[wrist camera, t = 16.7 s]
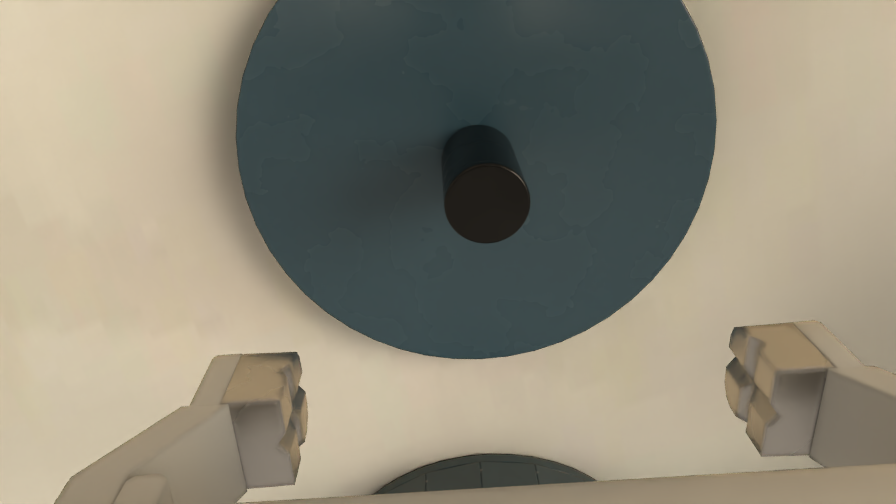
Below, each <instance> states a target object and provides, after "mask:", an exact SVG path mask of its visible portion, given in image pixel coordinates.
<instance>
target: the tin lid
mask: <svg viewBox="0 0 896 504" xmlns="http://www.w3.org/2000/svg"><path fill="white" fill-rule="evenodd" d="M715 134H716V106H715V91H714V85H713V80H712V75H711V70H710V66H709V61H708V57H707V54H706V52H705V49H704V46H703V43H702V40H701V38H700V35H699V32H698V29H697V27H696V25H695V23H694V22H693V20H692V18H691V16H690V14H689V12H688V10H687V9H686V7H685V5H684V3H683V1H682V0H277V2H276V3H275V5H274V6H273V8H272V9H271V11H270V12H269V14H268V15H267V17H266V19H265V21H264V23H263V25H262V27H261V29H260V31H259V33H258V35H257V37H256V40H255V42H254V44H253V46H252V49H251V52H250V55H249V58H248V61H247V64H246V67H245V70H244V73H243V77H242V83H241V88H240V94H239V99H238V105H237V122H236V145H237V156H238V166H239V172H240V176H241V180H242V185H243V189H244V193H245V197H246V200H247V203H248V205H249V208H250V211H251V213H252V216H253V218H254V221H255V224H256V226H257V228H258V230H259V232H260V233H261V235H262V237H263V239H264V241H265V243H266V245H267V246H268V248H269V250H270V252H271V253H272V254H273V256H274V257H275V259H276V260H277V261H278V263H279V264H280V266H281V267H282V268H283V270H284V271H285V273H286V274H287V275H288V276H289V277H290V278H291V279H292V280H293V282H294V283H295V284H296V285H297V286H298V287H299V288H300V289H301V290H302V291H303V292H304V293H305V294H306V295H307V296H308V297H309V298H310V299H311V300H313V301H314V302H315V303H316V304H317V305H319V306H320V307H321V308H322V309H323V310H324V311H326V312H327V313H328V314H330V315H331V316H333V317H334V318H336V319H338V320H339V321H341V322H342V323H344V324H345V325H347V326H348V327H350V328H352V329H354V330H356V331H358V332H360V333H362V334H364V335H366V336H368V337H370V338H372V339H374V340H376V341H379V342H382V343H385V344H387V345H390V346H393V347H396V348H398V349H402V350H406V351H410V352H414V353H419V354H423V355H428V356H436V357H444V358H452V359H486V358H496V357H506V356H512V355H516V354H521V353H526V352H531V351H535V350H538V349H541V348H544V347H547V346H550V345H553V344H556V343H559V342H562V341H564V340H566V339H569V338H571V337H573V336H575V335H577V334H580V333H582V332H584V331H586V330H588V329H589V328H591V327H593V326H594V325H596V324H598V323H599V322H601V321H603V320H605V319H606V318H608V317H610V316H611V315H612V314H613V313H615V312H616V311H617V310H619V309H620V308H621V307H623V306H624V305H625V304H627V303H628V302H629V301H631V300H632V299H633V298H634V297H635V296H636V295H637V294H638V293H639V292H640V291H641V290H642V289H643V288H645V287H646V286H647V285H648V284H649V283H650V282H651V281H652V280H653V279H654V277H655V276H656V275H657V274H658V273H659V271H660V270H661V269H662V268H663V267H664V265H665V264H666V263H667V262H668V261H669V259H670V258H671V257H672V255H673V253H674V252H675V250H676V249H677V247H678V246H679V244H680V243H681V241H682V240H683V238H684V236H685V235H686V233H687V231H688V229H689V227H690V225H691V223H692V221H693V219H694V217H695V215H696V213H697V211H698V209H699V206H700V203H701V200H702V197H703V194H704V191H705V188H706V185H707V182H708V179H709V174H710V169H711V164H712V160H713V155H714V148H715Z"/></svg>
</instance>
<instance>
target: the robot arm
mask: <svg viewBox="0 0 896 504" xmlns="http://www.w3.org/2000/svg"><path fill="white" fill-rule="evenodd" d="M729 348H730V349H731V350H732V352H733V353H734V355H735V356H736V357H735V358H734V359H733V360H732V361H731V362H730V363H729V364H728V366H727V367H726V373H725V390H726V397H727V400H728V403H729V405H730V408H731V409H732V411H733V413H734V414H735V416H736V417H738V418H740V419H742V420H743V421H745V422H747V427H746V433H747V435H748V436H749V438H750V439H751V441H752V443H753V444H754V446H755V447H756V449H757V450H758V452H759V453H760V455H761V456H762V457H764V456H794V455H810V456H809V457H810V458H812V459H813V460H815V461H816V462H818V463H819V464H821V465H822V466H823V467H825V468H808V469H792V470H775V471H759V472H742V473H726V474H709V475H693V476H676V477H660V478H643V479H627V480H610V481H593V482H577V483H560V484H544V485H527V486H511V487H494V488H477V489H461V490H444V491H428V492H411V493H394V494H378V495H361V496H345V497H328V498H312V499H295V500H278V501H262V502H245V503H236V502H237V501H238V500H239V499H240V498H241V497H242V496H243V495H244V494H245V493H246V492H247V489H250V488H261V487H273V486H284V485H295V481H296V477H297V473H298V469H299V464H300V460H301V456H300V450H299V446H300V445H302V444H303V443H304V442H305V438H306V433H307V422H308V410H307V399H306V393H305V391H304V390H303V389H302V388H301V387H300V386H299V382H300V378H301V374H302V368H301V363H300V358H299V355H298V354H297V352H282V353H256V354H244V355H243V354H231V355H218V356H216V357H214V358H213V359H212V361H211V363H210V365H209V367H208V369H207V371H206V373H205V375H204V377H203V379H202V381H201V383H200V385H199V387H198V389H197V391H196V393H195V396H194V398H193V400H192V402H191V404H190V406H185V407H180V408H179V409H177V410H175V411H174V412H172V413H171V414H169V415H168V416H166V417H164V418H163V419H161V420H160V421H158V422H157V423H155V424H154V425H152V426H150V427H149V428H147V429H146V430H144V431H143V432H141V433H139V434H138V435H136V436H135V437H133V438H132V439H130V440H128V441H127V442H125V443H124V444H122V445H121V446H119V447H117V448H116V449H114V450H113V451H111V452H110V453H108V454H107V455H105V456H103V457H102V458H100V459H99V460H97V461H96V462H94V463H92V464H91V465H89V466H88V467H86V468H85V469H83V470H81V471H80V472H78V473H77V474H75V475H74V476H72V477H71V478H70V479H69V481H68V482H67V484H66V485H65V487H64V489H63V490H62V492H61V493H60V495H59V496H58V498H57V499H56V501H55V503H54V504H896V374H893V373H891V372H888V371H886V370H883V369H881V368H878V367H876V366H865V365H864V364H863V363H862V362H861V361H860V360H859V359H858V358H857V357H856V356H855V355H854V354H853V353H852V352H851V351H850V350H849V349H848V348H847V347H846V346H845V345H843V344H842V343H841V342H840V341H839V340H838V339H837V338H836V337H835V336H834V335H833V334H832V333H831V332H830V331H829V330H828V329H827V328H826V327H825V326H824V325H823V324H822V323H821V322H818V321H815V320H811V321H801V322H790V323H780V324H768V325H756V326H744V327H734V329H733V331H732V333H731V337H730V343H729Z"/></svg>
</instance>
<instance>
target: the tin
mask: <svg viewBox="0 0 896 504" xmlns="http://www.w3.org/2000/svg"><path fill="white" fill-rule="evenodd" d="M593 481H596V480H595V479H593V478H592V477H590V476H588V475H586V474H584V473H582V472H580V471H578V470H576V469H574V468H571V467H568V466H565V465H562V464H559V463H556V462H553V461H549V460H544V459H540V458H535V457H530V456H521V455H512V454H485V455H474V456H465V457H460V458H455V459H450V460H445V461H441V462H438V463H435V464H431V465H428V466H425V467H422V468H420V469H417V470H415V471H413V472H410V473H408V474H406V475H403V476H402V477H400V478H398V479H396V480H395V481H393V482H391V483H390V484H388V485H386V486H385V487H383V488H382V489H381V490H379V491H378V492H377V493H375V494H374V495H378V494H394V493H411V492H428V491H444V490H461V489H477V488H494V487H511V486H527V485H544V484H560V483H577V482H593Z"/></svg>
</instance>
